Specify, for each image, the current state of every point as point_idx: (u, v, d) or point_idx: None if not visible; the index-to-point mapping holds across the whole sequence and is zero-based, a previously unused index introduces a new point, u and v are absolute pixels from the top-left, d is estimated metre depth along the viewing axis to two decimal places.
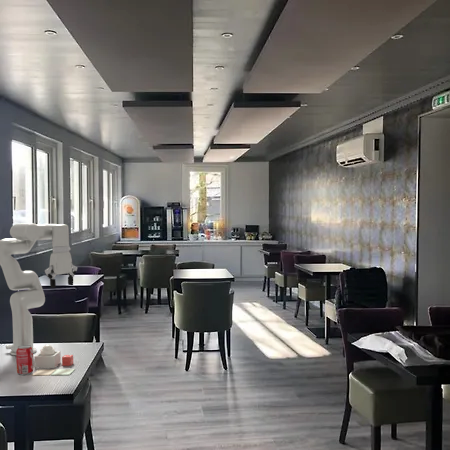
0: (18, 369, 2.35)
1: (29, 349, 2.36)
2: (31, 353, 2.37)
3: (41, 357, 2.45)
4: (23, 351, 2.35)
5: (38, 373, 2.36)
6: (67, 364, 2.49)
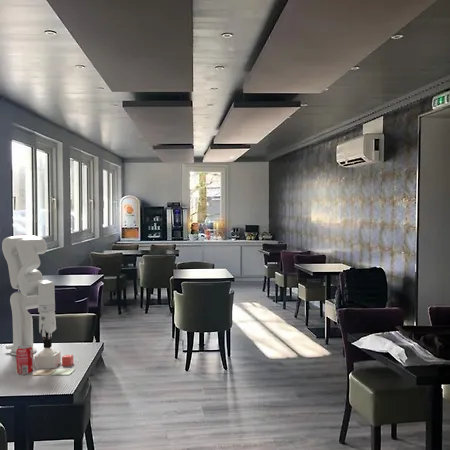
0: (18, 369, 2.35)
1: (29, 349, 2.36)
2: (31, 353, 2.37)
3: (41, 357, 2.45)
4: (23, 351, 2.35)
5: (38, 373, 2.36)
6: (67, 364, 2.49)
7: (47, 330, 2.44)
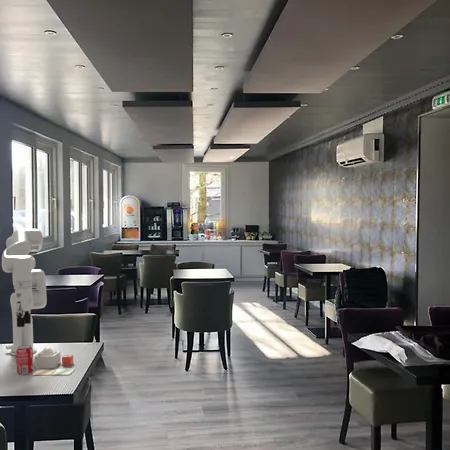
0: (18, 369, 2.35)
1: (29, 349, 2.36)
2: (31, 353, 2.37)
3: (41, 357, 2.45)
4: (23, 351, 2.35)
5: (38, 373, 2.36)
6: (67, 364, 2.49)
7: (23, 308, 2.32)
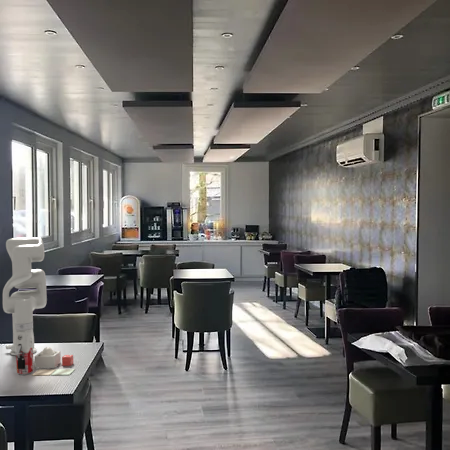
0: (18, 369, 2.35)
1: None
2: (31, 353, 2.37)
3: (41, 357, 2.45)
4: None
5: (38, 373, 2.36)
6: (67, 364, 2.49)
7: (24, 350, 2.33)
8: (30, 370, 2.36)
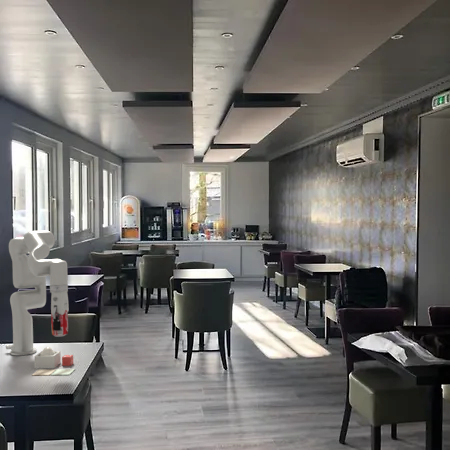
0: (53, 331, 2.34)
1: None
2: (66, 315, 2.36)
3: (41, 357, 2.45)
4: None
5: (38, 373, 2.36)
6: (67, 364, 2.49)
7: (59, 311, 2.32)
8: (65, 332, 2.36)
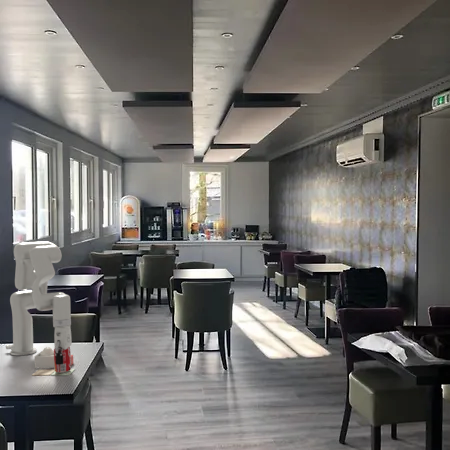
0: (56, 367, 2.35)
1: None
2: (69, 351, 2.37)
3: (41, 357, 2.45)
4: None
5: (38, 373, 2.36)
6: None
7: (63, 346, 2.32)
8: (68, 368, 2.36)
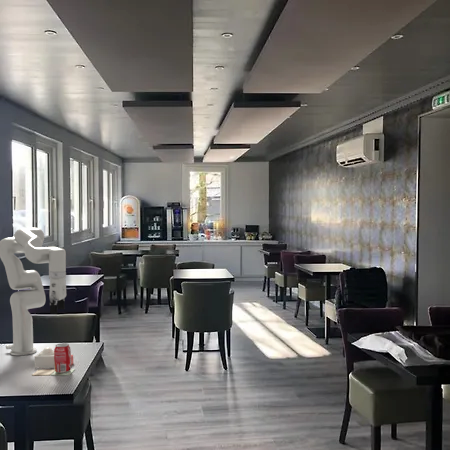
0: (56, 367, 2.35)
1: (67, 347, 2.36)
2: (69, 351, 2.37)
3: (41, 357, 2.45)
4: (62, 349, 2.34)
5: (38, 373, 2.36)
6: None
7: (57, 297, 2.45)
8: (68, 368, 2.36)
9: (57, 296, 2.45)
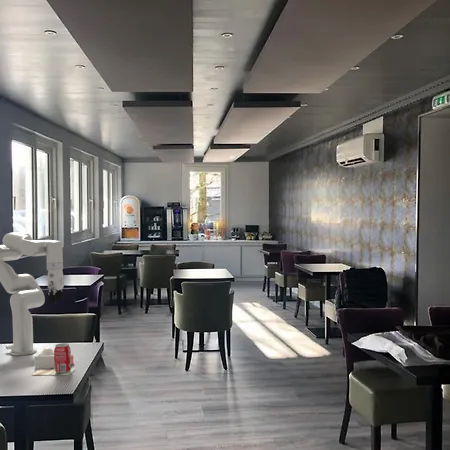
0: (56, 367, 2.35)
1: (67, 347, 2.36)
2: (69, 351, 2.37)
3: (41, 357, 2.45)
4: (62, 349, 2.34)
5: (38, 373, 2.36)
6: None
7: (55, 287, 2.54)
8: (68, 368, 2.36)
9: (55, 286, 2.54)
